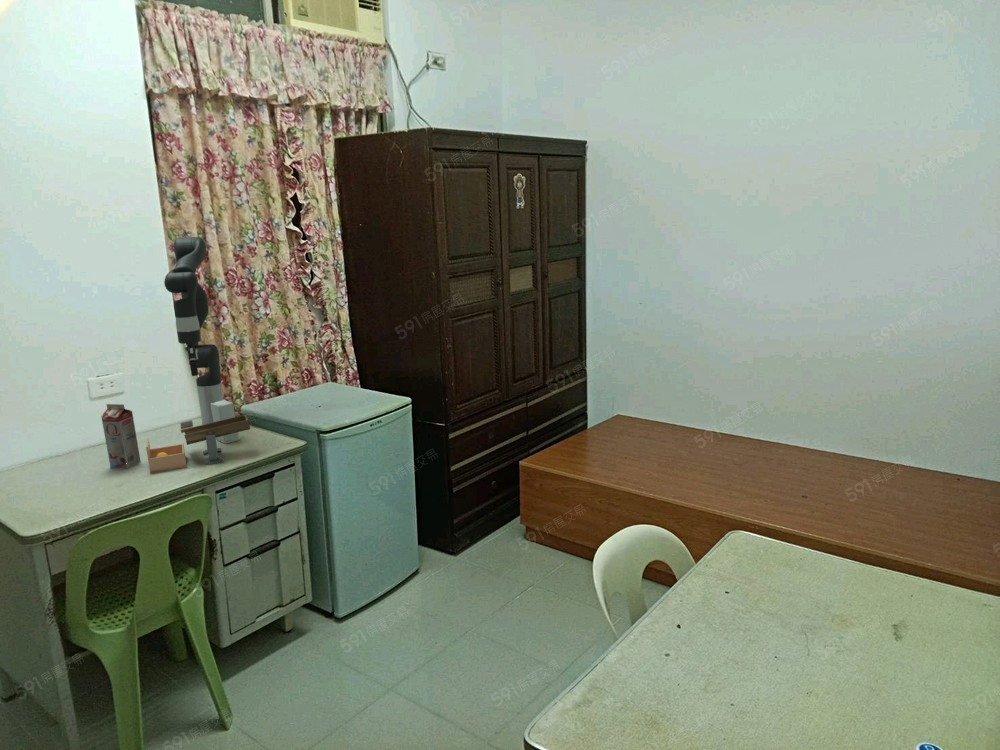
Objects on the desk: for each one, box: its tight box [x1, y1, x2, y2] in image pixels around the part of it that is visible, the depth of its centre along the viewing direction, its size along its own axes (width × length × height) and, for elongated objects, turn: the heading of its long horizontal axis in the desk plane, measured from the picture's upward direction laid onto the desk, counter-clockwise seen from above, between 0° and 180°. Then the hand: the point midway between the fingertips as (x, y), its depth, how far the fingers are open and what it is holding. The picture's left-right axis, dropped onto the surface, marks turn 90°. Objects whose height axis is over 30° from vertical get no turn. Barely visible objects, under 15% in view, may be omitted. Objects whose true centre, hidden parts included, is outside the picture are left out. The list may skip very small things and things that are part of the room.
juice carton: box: [101, 403, 142, 470], centre depth 241 cm, size 7×7×22 cm
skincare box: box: [211, 399, 240, 444], centre depth 264 cm, size 8×6×15 cm
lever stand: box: [202, 433, 225, 466], centre depth 246 cm, size 14×6×10 cm, turn 25°
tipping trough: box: [179, 414, 251, 446], centre depth 250 cm, size 18×22×4 cm
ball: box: [156, 452, 168, 457], centre depth 241 cm, size 4×4×4 cm
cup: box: [145, 438, 187, 474], centre depth 241 cm, size 11×11×9 cm
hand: (194, 373), depth 253 cm, fingers open, 8 cm apart
